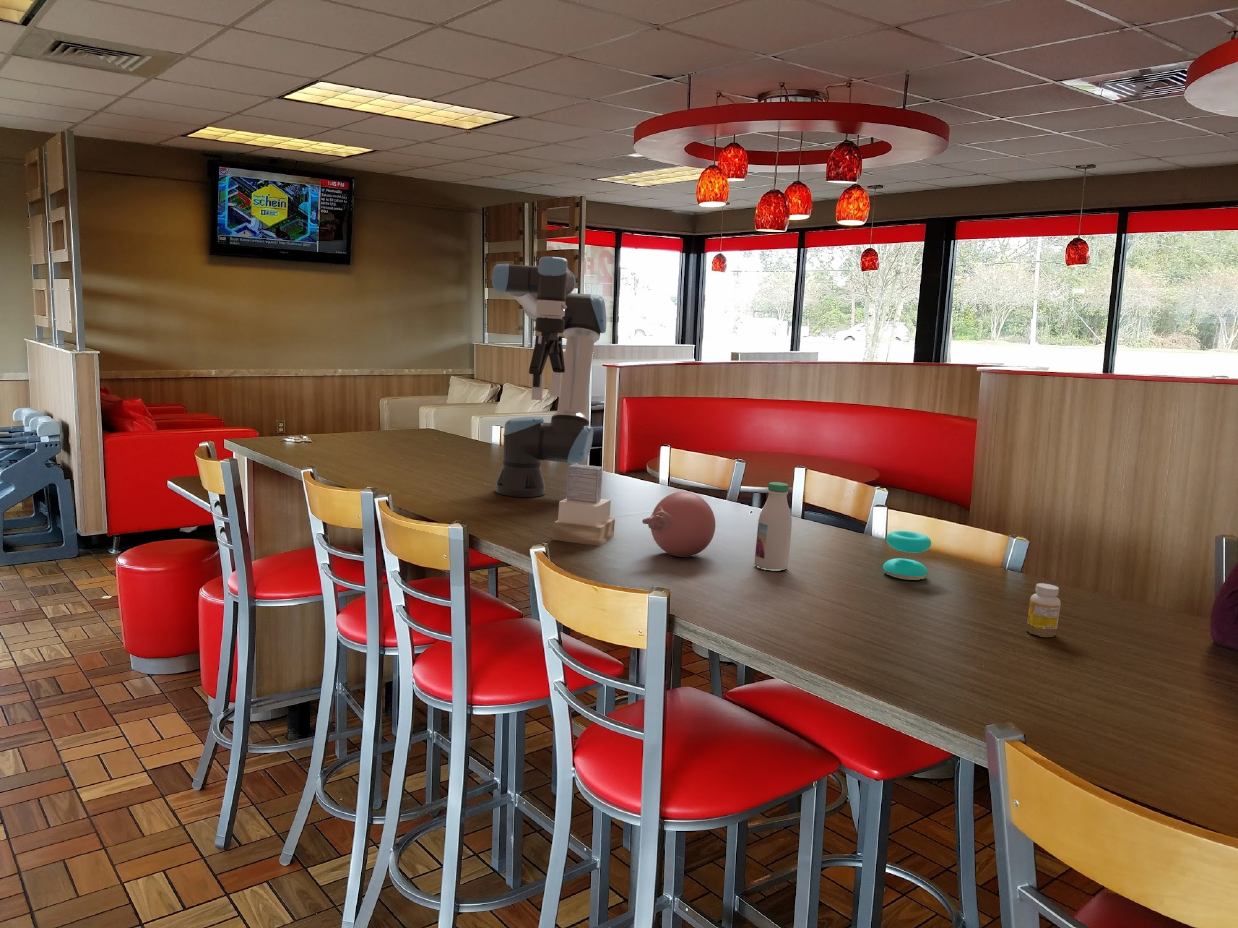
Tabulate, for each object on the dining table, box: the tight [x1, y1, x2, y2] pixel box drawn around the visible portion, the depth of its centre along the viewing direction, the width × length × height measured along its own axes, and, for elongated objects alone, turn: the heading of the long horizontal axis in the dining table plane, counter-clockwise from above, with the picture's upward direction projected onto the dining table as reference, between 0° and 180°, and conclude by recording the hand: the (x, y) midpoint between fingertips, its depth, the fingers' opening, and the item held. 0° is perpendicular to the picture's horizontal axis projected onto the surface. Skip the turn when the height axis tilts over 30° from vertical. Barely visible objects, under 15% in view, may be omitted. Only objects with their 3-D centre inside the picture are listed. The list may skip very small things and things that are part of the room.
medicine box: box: [566, 463, 603, 503], centre depth 230 cm, size 8×4×9 cm, turn 77°
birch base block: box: [552, 517, 616, 547], centre depth 231 cm, size 12×12×5 cm
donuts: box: [882, 530, 932, 576], centre depth 214 cm, size 10×10×10 cm
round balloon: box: [642, 491, 716, 558], centre depth 217 cm, size 15×20×15 cm
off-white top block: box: [557, 497, 612, 527], centre depth 231 cm, size 10×10×5 cm
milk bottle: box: [754, 481, 793, 569], centre depth 213 cm, size 8×8×20 cm
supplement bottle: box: [1026, 582, 1061, 630], centre depth 178 cm, size 5×5×10 cm
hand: (546, 398), depth 245 cm, fingers open, 13 cm apart
